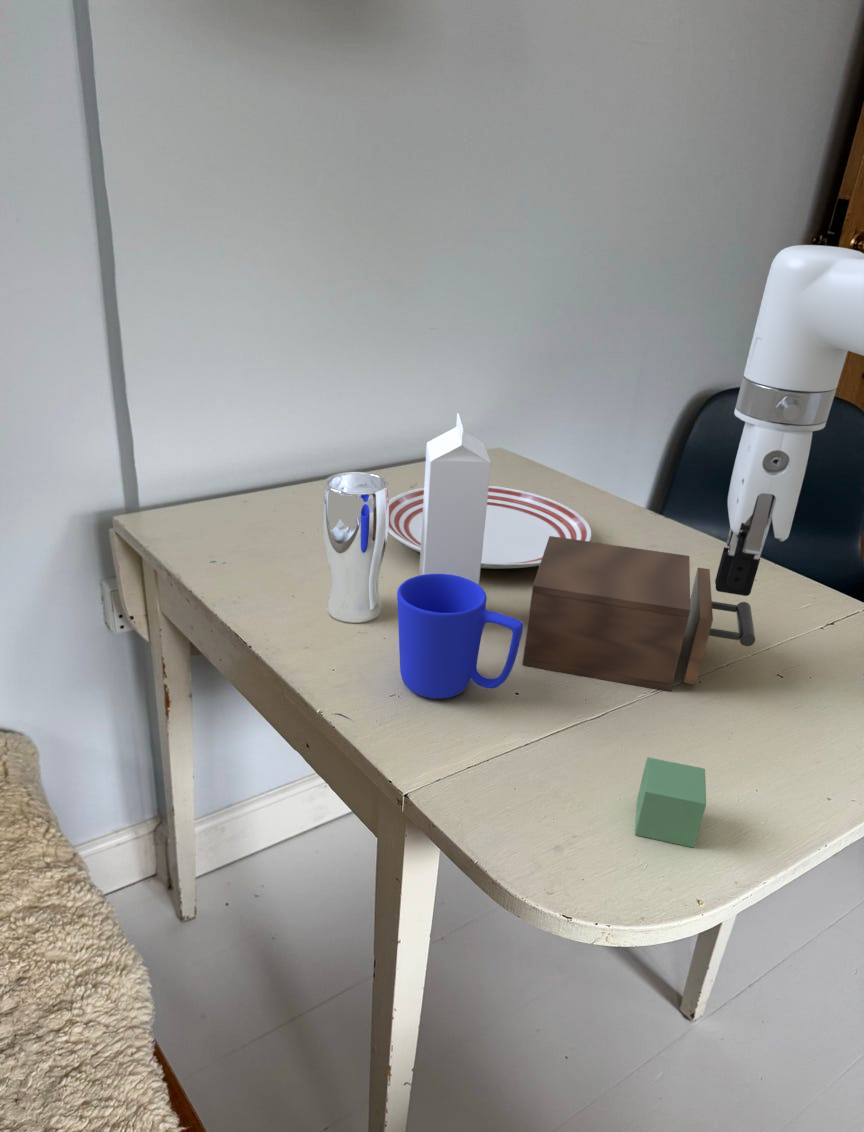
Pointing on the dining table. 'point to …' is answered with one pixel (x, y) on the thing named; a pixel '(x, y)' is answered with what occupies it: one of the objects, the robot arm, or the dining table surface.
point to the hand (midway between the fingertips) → (731, 589)
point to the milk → (454, 505)
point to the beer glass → (355, 543)
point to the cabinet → (609, 612)
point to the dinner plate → (499, 525)
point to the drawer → (702, 622)
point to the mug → (446, 635)
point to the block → (670, 802)
